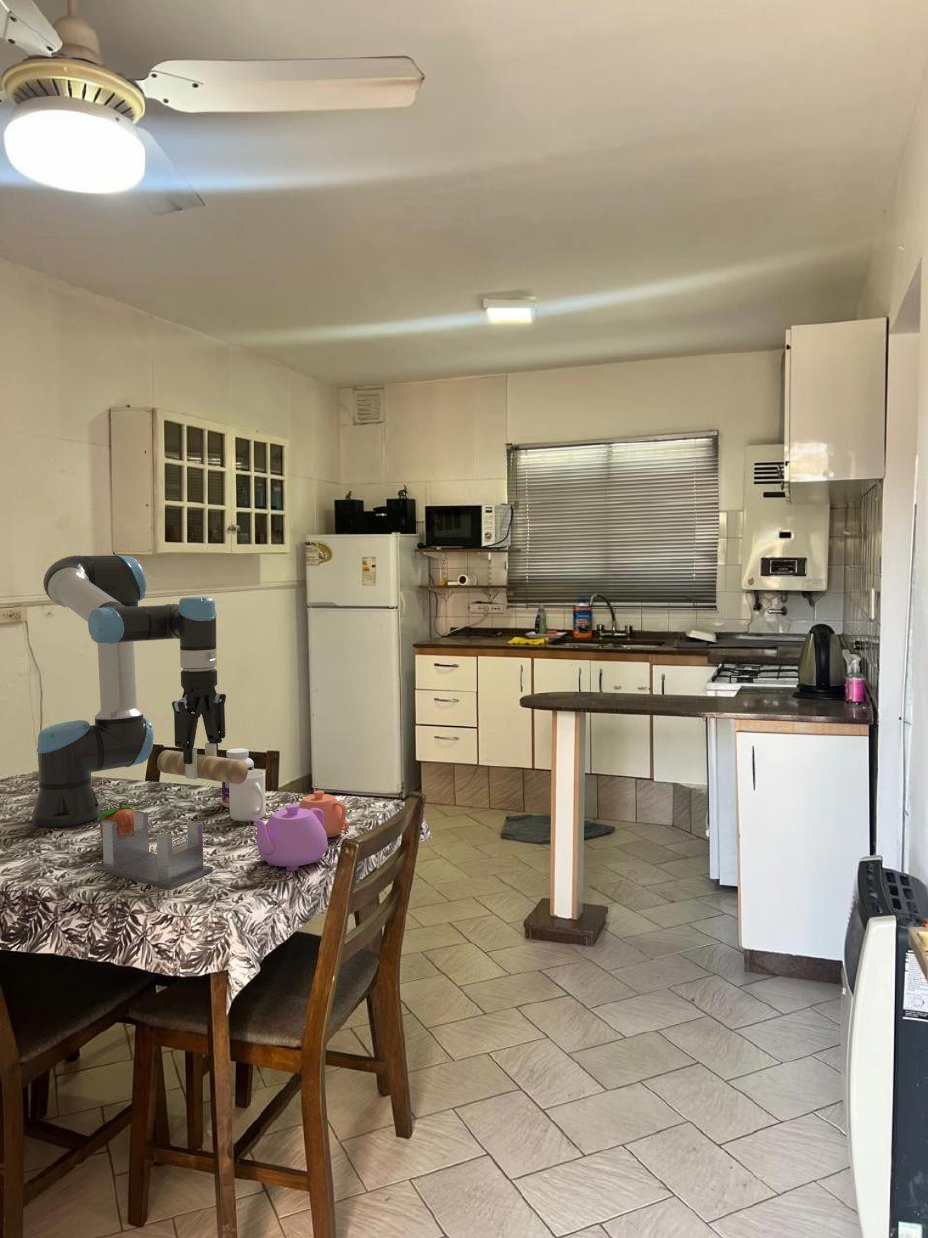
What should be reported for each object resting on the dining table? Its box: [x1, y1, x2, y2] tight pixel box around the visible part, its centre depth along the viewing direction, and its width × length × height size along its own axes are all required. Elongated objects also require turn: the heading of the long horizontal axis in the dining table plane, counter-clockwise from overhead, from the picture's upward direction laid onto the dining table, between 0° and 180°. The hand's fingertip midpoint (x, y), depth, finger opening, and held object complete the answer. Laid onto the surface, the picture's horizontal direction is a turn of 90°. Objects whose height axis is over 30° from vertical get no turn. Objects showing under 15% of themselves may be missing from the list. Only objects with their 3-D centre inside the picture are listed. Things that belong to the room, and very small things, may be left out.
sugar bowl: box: [298, 790, 350, 839], centre depth 199 cm, size 12×14×10 cm
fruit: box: [97, 801, 139, 840], centre depth 192 cm, size 9×10×10 cm
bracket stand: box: [94, 810, 214, 891], centre depth 176 cm, size 22×11×10 cm, turn 60°
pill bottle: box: [221, 747, 255, 809], centre depth 224 cm, size 8×8×14 cm
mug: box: [229, 769, 267, 822], centre depth 213 cm, size 9×12×11 cm
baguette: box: [156, 749, 248, 784], centre depth 188 cm, size 22×5×5 cm, turn 61°
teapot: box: [251, 803, 329, 872], centre depth 180 cm, size 20×14×12 cm
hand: (201, 775), depth 188 cm, fingers closed on baguette, 5 cm apart
